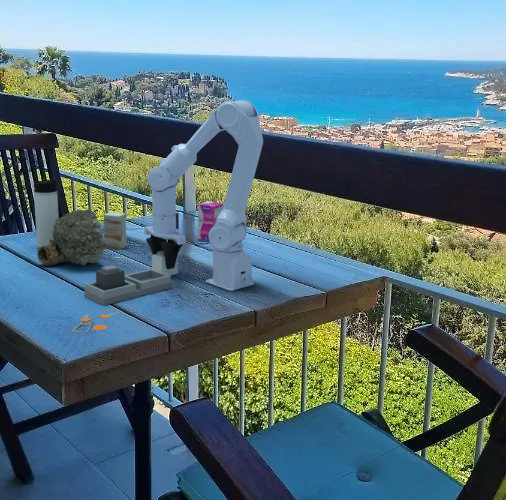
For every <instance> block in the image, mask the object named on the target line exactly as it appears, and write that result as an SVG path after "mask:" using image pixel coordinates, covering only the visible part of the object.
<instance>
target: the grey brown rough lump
mask: <svg viewBox="0 0 506 500" xmlns="http://www.w3.org/2000/svg"><path fill="white" fill-rule="evenodd" d="M55 221H56V223H55V225H53V227H54V229H53V230H52V231H53V236H52V242H51V243H52V244H50V245H48V246H42V247H39V250H38V249H37V253H36V256H37V259H38V261H39V263H42V264H43V265H44V266H49V267H50V266H55V265H56V266H57V265H59V264H61V263H62V264H63V263H66V262H70V263H71V264H75V265H82V266H86V264H97V263H99V262H100V261H101V260H103V259H102V258H103V255H104V250H105V249H107V248H106V242H105V240H104V234H103V231H102V229H101V227H102V226H101V223H100V221H99V219H98V217H97V213H96V212H95V211H92V210H90V208H87V209H85V210H83V209H77V210H73V211H71V212H68V213H66V214H63V215H62V216H61V217H59V219H56V220H55Z"/></svg>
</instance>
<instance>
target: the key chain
mask: <svg viewBox="0 0 506 500" xmlns="http://www.w3.org/2000/svg"><path fill="white" fill-rule="evenodd" d="M118 313H119V314H120V311H116V313H115V312H112V313H108V314H101V315H100V316H96V317H92V318H89V314H85V315H84V316H83V318H80V323H79V324H78V325H76V326H75V327H74V328H73V329H72V330H71V332H72V333H77V334H78V333H79V334H86V333H88V332H89V330H90V329H91V327H92V329H93V330H96V331H102V330H105V329H107V327H108V326H106V325H103V324H97V325H95V324H93V323H94V322H95V321H94V319H101V318H102V319H108V318H111V317H112V316H115V315H117V314H118ZM114 314H115V315H114ZM81 326H83V327H88V329H87V330H86V331H77V330H76V329H78V328H79V327H81Z"/></svg>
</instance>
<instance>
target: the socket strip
mask: <svg viewBox="0 0 506 500" xmlns="http://www.w3.org/2000/svg"><path fill="white" fill-rule="evenodd" d="M84 285H85V289H84V290H85V291H84V292H83V294H84V295H83V296H84V298H87V299H89V300H91V301H93V302H95V303H97V304H98V305H102V306H107V305H112V304H116V303H119V301H120V302H123V301H127V300H130V299H135V298H139V297H141V296H142V297H143V296H146V295H150V294H153V293H157V292H162V291H166V290H169V289H172V288H173V283H172V275H167V274H164V273H162V272H159V271H156V270H153V269H152V268H150V269H145V270H141V271H137V272H132V273H127V274H125V286H122V287H118V288H114V289H110V290H105V291H104V290H102V289H100V288H97V287H96V281H94V282H92V281H91V282H90V283H85V284H84ZM115 302H116V303H115Z"/></svg>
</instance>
